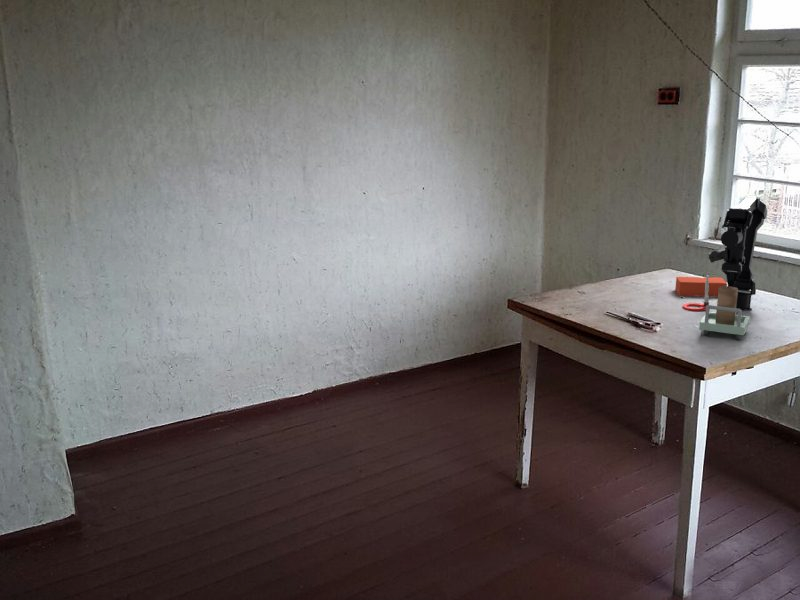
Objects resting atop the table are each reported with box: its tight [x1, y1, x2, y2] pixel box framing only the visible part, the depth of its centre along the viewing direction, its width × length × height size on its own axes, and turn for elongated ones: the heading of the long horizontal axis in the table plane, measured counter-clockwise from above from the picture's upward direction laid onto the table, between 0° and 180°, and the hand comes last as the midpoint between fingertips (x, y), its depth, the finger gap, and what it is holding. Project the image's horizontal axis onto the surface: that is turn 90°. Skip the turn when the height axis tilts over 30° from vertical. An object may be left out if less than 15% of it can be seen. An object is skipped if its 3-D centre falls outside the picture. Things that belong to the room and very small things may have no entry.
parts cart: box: [698, 304, 751, 341], centre depth 259 cm, size 14×14×11 cm
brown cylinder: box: [715, 285, 738, 325], centre depth 258 cm, size 6×6×12 cm
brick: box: [674, 276, 728, 297], centre depth 308 cm, size 18×9×6 cm, turn 80°
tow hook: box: [682, 275, 710, 312], centre depth 288 cm, size 8×13×9 cm
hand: (731, 286), depth 270 cm, fingers open, 9 cm apart
